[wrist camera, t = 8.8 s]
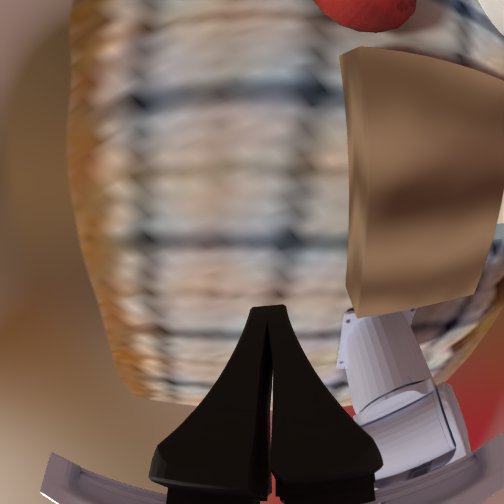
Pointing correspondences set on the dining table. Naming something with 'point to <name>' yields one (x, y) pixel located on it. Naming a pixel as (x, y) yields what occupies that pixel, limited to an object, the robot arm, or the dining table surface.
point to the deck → (419, 177)
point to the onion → (368, 13)
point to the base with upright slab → (494, 12)
